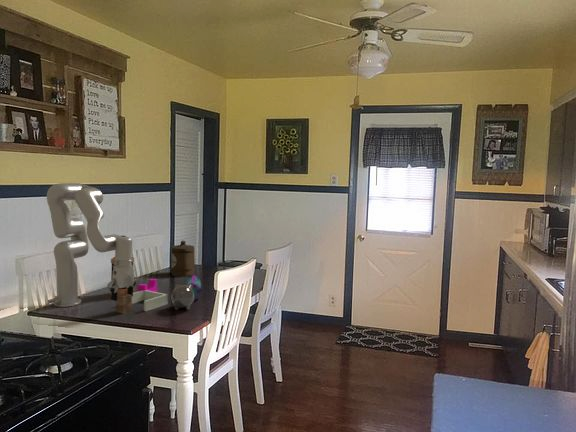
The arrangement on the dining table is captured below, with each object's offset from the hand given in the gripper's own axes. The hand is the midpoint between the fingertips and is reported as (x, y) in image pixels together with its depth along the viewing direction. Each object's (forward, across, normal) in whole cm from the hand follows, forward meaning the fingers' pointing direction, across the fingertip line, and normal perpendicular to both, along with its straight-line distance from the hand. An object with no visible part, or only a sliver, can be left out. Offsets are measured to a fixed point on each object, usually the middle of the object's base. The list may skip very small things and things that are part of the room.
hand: (122, 298), depth 230 cm
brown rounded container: (+7, +80, +32) cm, 87 cm away
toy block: (+7, +27, +9) cm, 29 cm away
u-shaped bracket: (+6, +14, -1) cm, 15 cm away
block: (+6, 0, -1) cm, 7 cm away
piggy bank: (+6, +20, -20) cm, 29 cm away
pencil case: (+6, +41, -9) cm, 43 cm away
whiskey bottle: (+7, +22, +24) cm, 33 cm away
